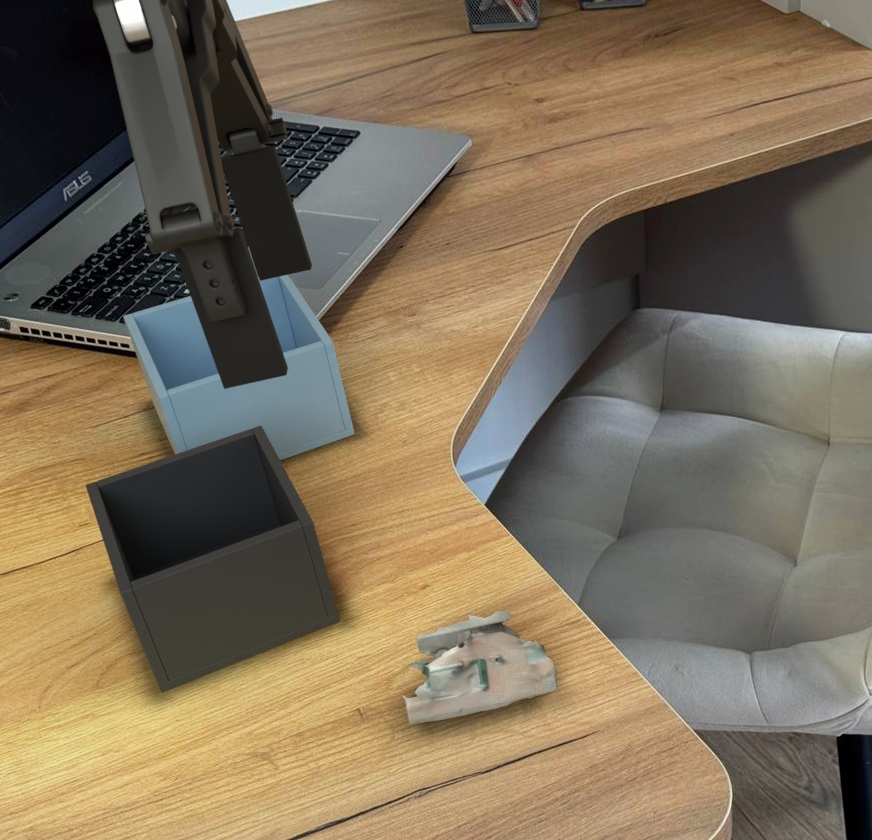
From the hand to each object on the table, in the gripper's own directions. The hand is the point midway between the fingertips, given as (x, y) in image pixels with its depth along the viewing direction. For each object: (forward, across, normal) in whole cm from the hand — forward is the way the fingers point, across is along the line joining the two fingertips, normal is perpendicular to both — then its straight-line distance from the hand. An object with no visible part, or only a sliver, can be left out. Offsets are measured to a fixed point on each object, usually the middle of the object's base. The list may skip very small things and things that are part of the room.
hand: (272, 321), depth 63 cm
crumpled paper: (+22, -3, -5) cm, 23 cm away
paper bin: (+15, +25, +9) cm, 30 cm away
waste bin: (+19, +7, +9) cm, 22 cm away
